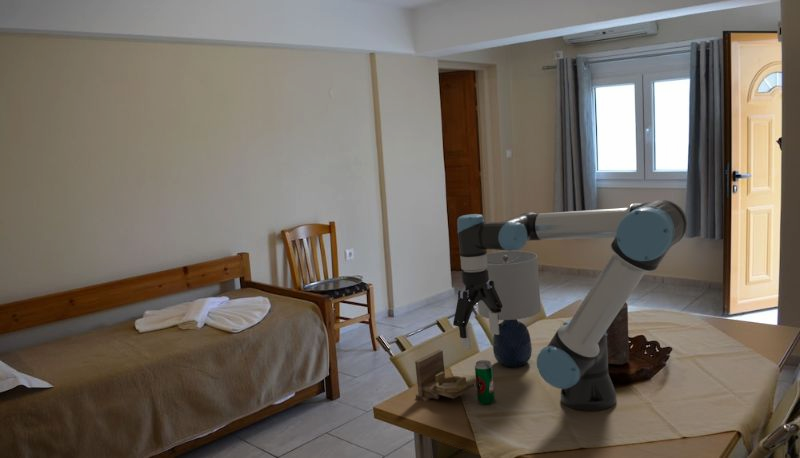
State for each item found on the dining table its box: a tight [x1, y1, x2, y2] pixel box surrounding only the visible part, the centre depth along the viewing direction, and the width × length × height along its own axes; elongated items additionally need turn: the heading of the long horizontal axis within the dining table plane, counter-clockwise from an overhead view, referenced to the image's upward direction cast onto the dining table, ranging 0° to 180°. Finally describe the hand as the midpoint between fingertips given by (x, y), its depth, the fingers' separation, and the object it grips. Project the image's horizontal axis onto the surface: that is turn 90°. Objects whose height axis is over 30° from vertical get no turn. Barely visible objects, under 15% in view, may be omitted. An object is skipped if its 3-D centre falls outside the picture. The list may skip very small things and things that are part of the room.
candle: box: [606, 301, 630, 366], centre depth 206 cm, size 8×7×20 cm
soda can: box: [474, 359, 496, 406], centre depth 188 cm, size 5×5×12 cm
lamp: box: [477, 250, 542, 368], centre depth 214 cm, size 20×20×37 cm
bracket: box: [414, 349, 475, 402], centre depth 194 cm, size 14×11×12 cm
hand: (481, 341), depth 186 cm, fingers open, 13 cm apart
